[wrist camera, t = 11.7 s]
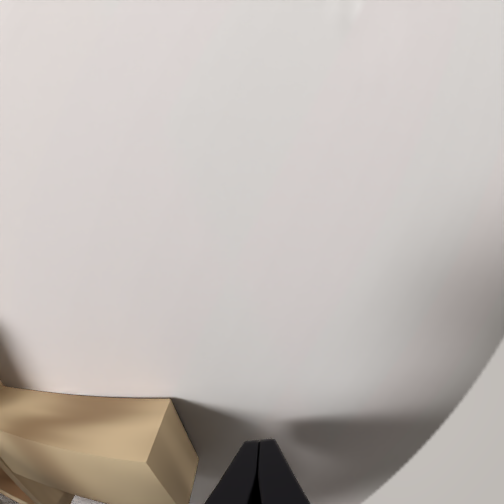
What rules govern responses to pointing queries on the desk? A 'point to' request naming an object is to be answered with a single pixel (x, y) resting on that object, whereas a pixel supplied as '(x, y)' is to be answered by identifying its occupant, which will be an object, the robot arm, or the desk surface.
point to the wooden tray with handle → (93, 449)
